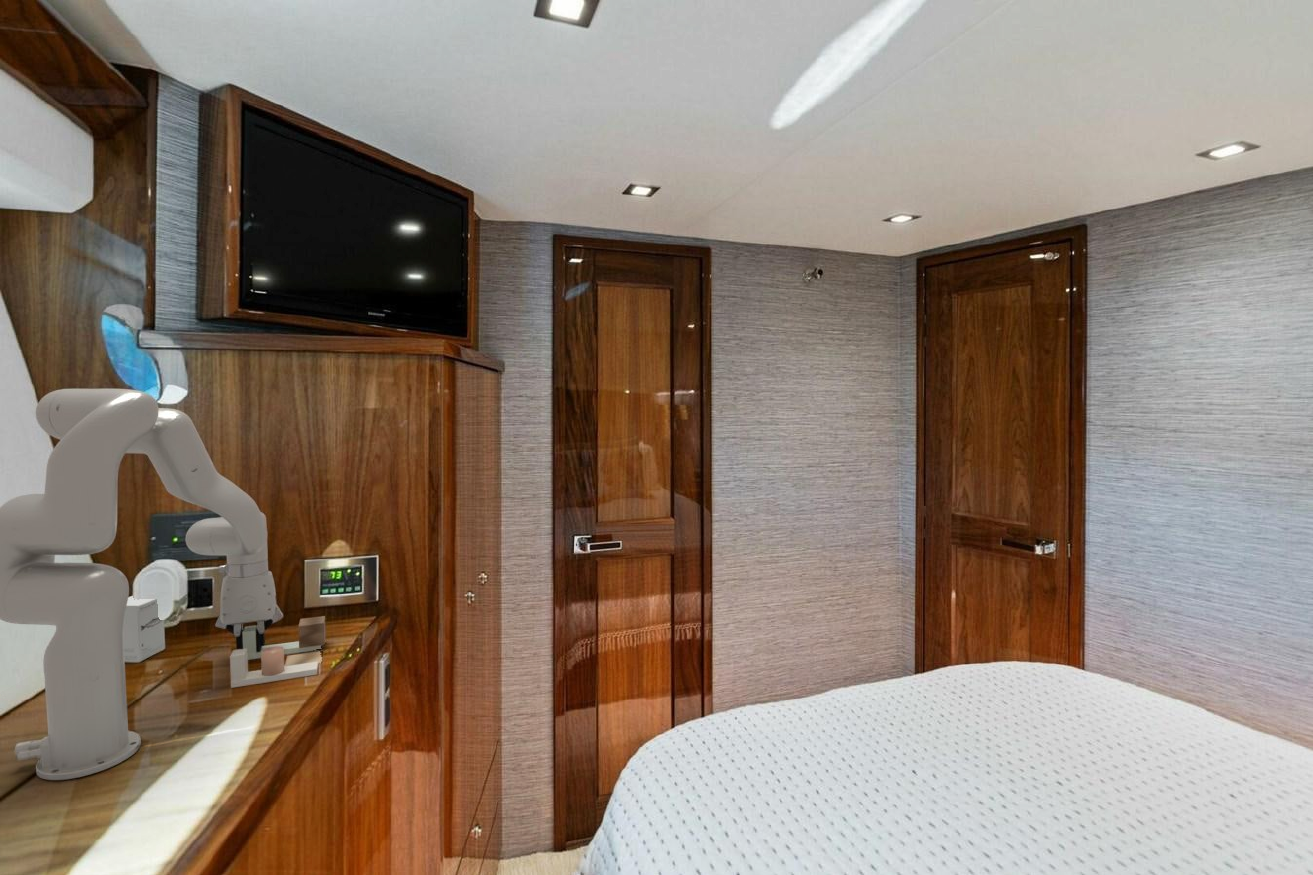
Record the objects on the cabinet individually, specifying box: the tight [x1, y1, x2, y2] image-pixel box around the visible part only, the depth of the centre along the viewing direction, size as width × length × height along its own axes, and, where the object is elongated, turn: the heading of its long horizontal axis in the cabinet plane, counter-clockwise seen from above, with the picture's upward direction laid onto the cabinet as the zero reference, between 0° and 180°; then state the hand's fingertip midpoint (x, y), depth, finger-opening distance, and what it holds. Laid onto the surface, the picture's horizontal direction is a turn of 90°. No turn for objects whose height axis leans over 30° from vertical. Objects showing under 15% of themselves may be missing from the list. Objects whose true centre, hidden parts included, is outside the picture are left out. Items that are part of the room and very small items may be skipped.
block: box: [298, 615, 327, 648], centre depth 146 cm, size 5×5×5 cm
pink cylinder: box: [260, 646, 285, 676], centre depth 131 cm, size 4×4×4 cm
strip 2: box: [229, 648, 319, 689], centre depth 131 cm, size 15×4×6 cm, turn 114°
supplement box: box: [123, 595, 166, 663], centre depth 142 cm, size 7×7×13 cm
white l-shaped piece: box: [242, 624, 323, 661], centre depth 143 cm, size 15×4×6 cm, turn 114°
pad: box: [284, 650, 323, 666], centre depth 139 cm, size 7×7×1 cm
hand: (251, 649), depth 141 cm, fingers closed on white l-shaped piece, 2 cm apart
